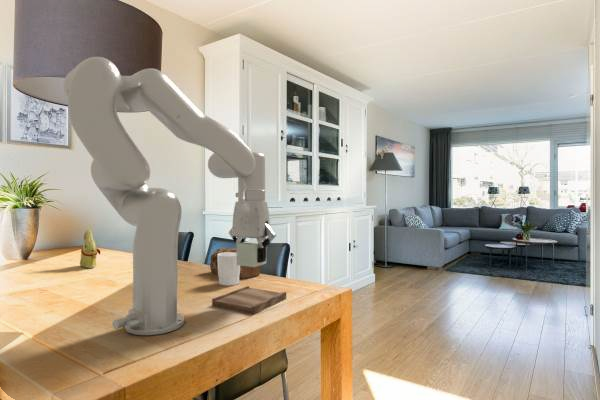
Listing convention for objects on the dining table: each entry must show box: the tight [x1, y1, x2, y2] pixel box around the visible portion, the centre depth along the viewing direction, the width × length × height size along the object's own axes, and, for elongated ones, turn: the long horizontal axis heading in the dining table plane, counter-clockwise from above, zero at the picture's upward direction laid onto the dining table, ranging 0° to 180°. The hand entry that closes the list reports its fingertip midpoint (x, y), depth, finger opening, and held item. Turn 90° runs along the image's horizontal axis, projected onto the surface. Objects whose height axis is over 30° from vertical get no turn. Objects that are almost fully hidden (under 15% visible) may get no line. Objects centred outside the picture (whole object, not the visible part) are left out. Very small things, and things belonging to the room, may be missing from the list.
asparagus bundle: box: [79, 229, 101, 270], centre depth 150 cm, size 7×11×15 cm, turn 45°
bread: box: [209, 247, 262, 280], centre depth 140 cm, size 19×11×10 cm, turn 49°
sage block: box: [236, 240, 268, 267], centre depth 104 cm, size 6×6×6 cm
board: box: [211, 285, 287, 315], centre depth 104 cm, size 16×14×2 cm
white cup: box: [217, 252, 240, 287], centre depth 126 cm, size 8×8×10 cm
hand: (251, 260), depth 104 cm, fingers closed on sage block, 6 cm apart
